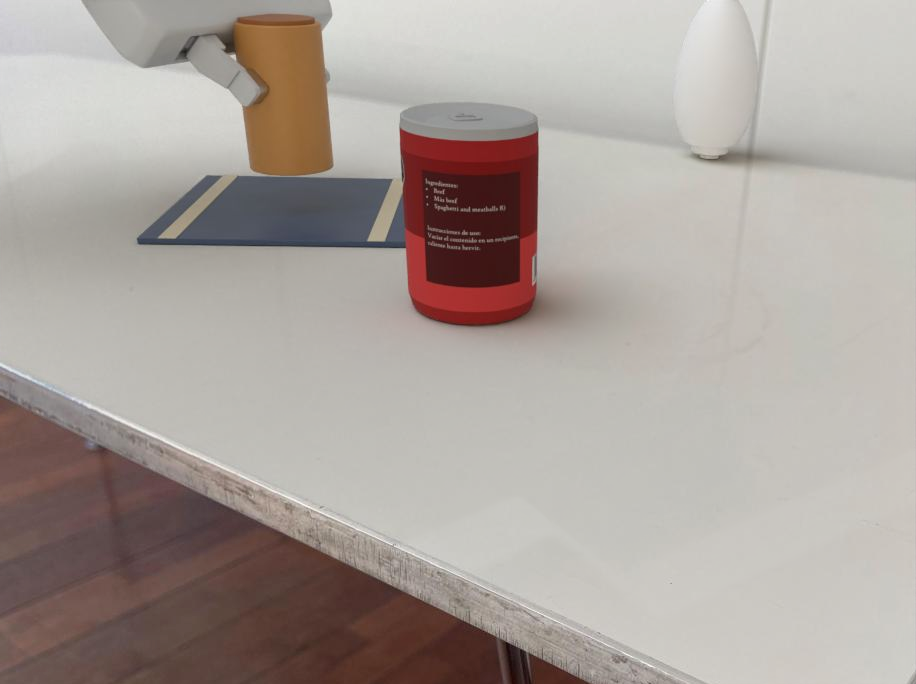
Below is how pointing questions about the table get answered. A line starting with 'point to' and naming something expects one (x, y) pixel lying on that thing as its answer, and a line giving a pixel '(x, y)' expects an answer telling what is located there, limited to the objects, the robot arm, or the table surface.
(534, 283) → the canned food
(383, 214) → the placemat
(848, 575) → the table surface
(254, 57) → the lidded tan canister
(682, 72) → the white tall oval piece
